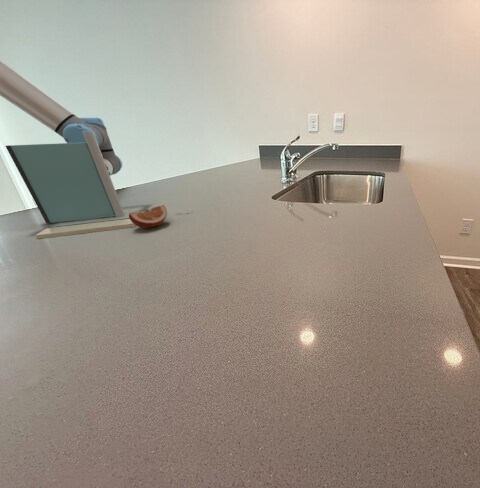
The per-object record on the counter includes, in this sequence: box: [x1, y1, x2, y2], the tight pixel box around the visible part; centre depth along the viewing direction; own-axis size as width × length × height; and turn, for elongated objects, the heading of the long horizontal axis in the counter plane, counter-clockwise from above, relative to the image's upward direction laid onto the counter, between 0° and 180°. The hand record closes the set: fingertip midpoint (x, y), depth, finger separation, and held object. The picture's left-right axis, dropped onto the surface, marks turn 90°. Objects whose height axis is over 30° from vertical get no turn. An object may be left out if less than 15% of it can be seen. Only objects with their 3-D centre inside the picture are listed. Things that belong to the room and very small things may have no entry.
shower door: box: [5, 142, 116, 224], centre depth 69 cm, size 15×9×19 cm, turn 109°
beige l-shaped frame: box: [35, 131, 136, 240], centre depth 66 cm, size 20×16×23 cm
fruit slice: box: [128, 204, 168, 229], centre depth 66 cm, size 8×7×5 cm
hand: (55, 183), depth 67 cm, fingers closed on shower door, 2 cm apart
